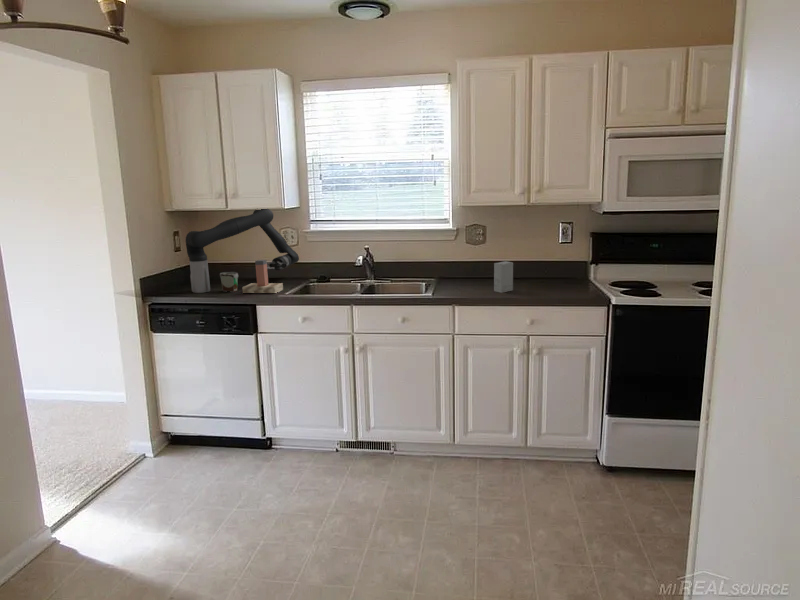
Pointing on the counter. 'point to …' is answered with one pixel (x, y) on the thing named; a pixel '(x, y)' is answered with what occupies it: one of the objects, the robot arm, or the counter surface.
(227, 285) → the food container
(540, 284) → the counter surface
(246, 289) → the beige rectangular block
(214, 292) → the counter surface
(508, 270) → the skincare box
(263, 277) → the pink tall block
